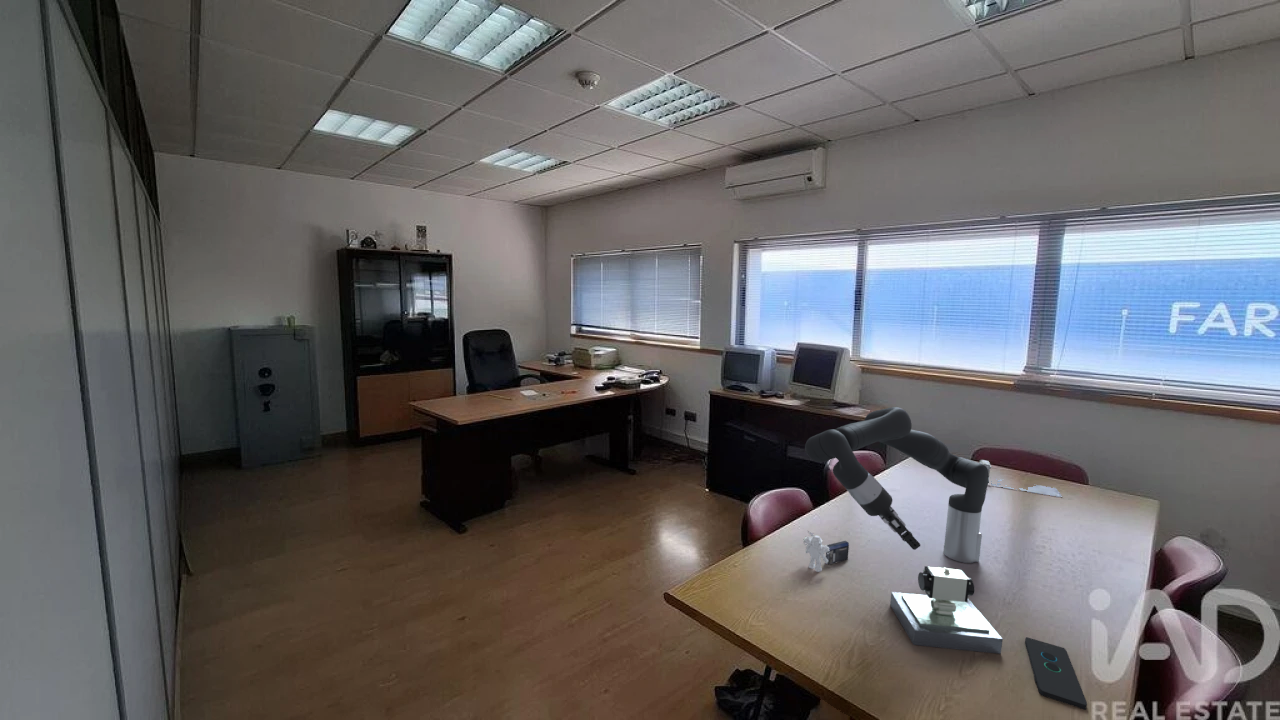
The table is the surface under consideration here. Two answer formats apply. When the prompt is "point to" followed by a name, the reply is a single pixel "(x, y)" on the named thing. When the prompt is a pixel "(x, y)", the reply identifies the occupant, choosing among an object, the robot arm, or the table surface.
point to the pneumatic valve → (945, 588)
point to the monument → (1034, 489)
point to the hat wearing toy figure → (816, 551)
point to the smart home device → (1054, 673)
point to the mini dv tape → (837, 552)
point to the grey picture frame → (945, 625)
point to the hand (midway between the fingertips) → (910, 539)
